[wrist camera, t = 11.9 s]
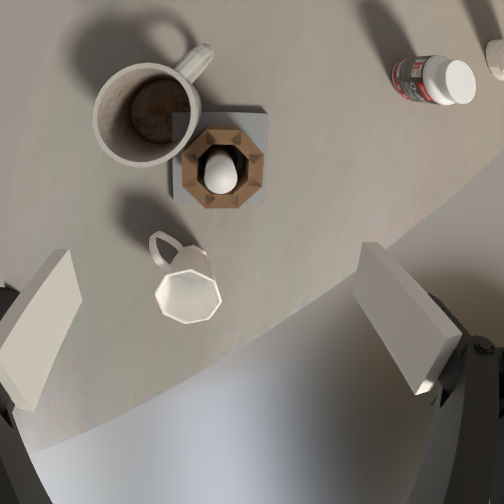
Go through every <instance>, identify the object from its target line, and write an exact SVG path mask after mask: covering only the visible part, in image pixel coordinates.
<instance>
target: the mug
mask: <svg viewBox="0 0 504 504" xmlns="http://www.w3.org/2000/svg"><path fill="white" fill-rule="evenodd" d="M213 56H214V49H213V48H212V47H211V46H210V45H208V44H206V43H204V44H200V45H197V46H196V47H194V48H193V49H192V50H190V51H189V52H188V53H187V54H186V55H185V56H184V57H183V58H182V59H181V61H180V62H179V63H178V64H177V65H176V67H175V68H174V69H171V68H169V67H167V66H164V65H161V64H157V63H140V64H135V65H132V66H128V67H126V68H124V69H122V70H120V71H119V72H117V73H116V74H115V75H113V76H112V77H111V78H110V79H109V80H108V81H107V82H106V83H105V84H104V86H103V87H102V89H101V90H100V92H99V94H98V95H97V98H96V101H95V104H94V108H93V114H92V120H93V129H94V133H95V136H96V138H97V141H98V143H99V145H100V146H101V147H102V149H103V150H104V151H105V152H106V153H107V154H108V155H109V156H110V157H111V158H112V159H114V160H116V161H117V162H119V163H121V164H124V165H127V166H131V167H151V166H155V165H159V164H161V163H163V162H165V161H167V160H169V159H170V158H172V157H173V156H175V155H176V154H177V153H178V152H179V151H180V150H181V149H182V148H183V147H184V146H185V144H186V143H187V141H188V140H189V139H190V137H191V136H192V134H193V133H194V131H195V130H196V128H197V126H198V124H199V121H200V117H201V112H202V104H201V98H200V96H199V94H198V91H197V90H196V88H195V87H194V86H193V84H192V83H193V82H194V81H195V80H196V78H197V77H198V76H199V75H200V74H201V73H202V72H203V70H204V69H205V68H206V67H207V66H208V64H209V63H210V62H211V60H212V58H213ZM174 112H191V118H190V123H189V127H188V129H187V132H186V134H185V135H184V136H183V137H182V138H180V139H179V140H177V141H175V142H173V143H172V113H174Z"/></svg>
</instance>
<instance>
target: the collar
mask: <svg viewBox="0 0 504 504" xmlns="http://www.w3.org/2000/svg"><path fill="white" fill-rule="evenodd" d="M212 144H223V145H235V146H236V147H237V148H238V149H239V150H240V151H241V152H242V153H243V167H242V168H241V169H240V170H239V171H238V172H236V173H237V183H236V185H235V187H234V188H233V189H232V190H231V191H229V192H227V193H224V194H217V193H214V192H212V191H210V190H209V189H208V188H207V186H206V184H205V180H204V176H205V172H204V171H203V170H202V169H201V168H200V156H201V155H202V154H203V153H204V152H205V151H206V150H207V149H208V148H209V147H210V146H211V145H212ZM263 166H264V154H263V153H262V152H261V150H260V149H259V148H258V147H257V146H256V145H255V144H254V143H253V142H252V141H251V140H250V139H249V138H248V137H247V135H246V134H245V133H244V132H243V131H242V130H241V129H240V128H239V127H238V126H237V125H207V126H206V127H205V128H204V129H203V130H202V131H201V132H200V133H199V134H198V135H197V136H196V137H195V138H194V139H193V140H192V141H191V142H190V143H189V144H188V145H187V146H186V148H185V149H184V151H183V152H182V187H183V188H184V189H185V190H186V191H188V192H189V193H190V194H191V195H192V196H193V197H194V198H195V199H196V200H197V201H198V202H199V203H200V204H201V205H202V206H204V207H205V208H239V207H240V206H241V205H242V204H243V203H245V202H246V201H247V200H248V199H249V198H250V197H251V196H252V195H253V194H255V193H256V192H257V191H258V190H259V189H260V188H261V187H262V182H263Z"/></svg>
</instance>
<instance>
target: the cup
mask: <svg viewBox="0 0 504 504" xmlns="http://www.w3.org/2000/svg"><path fill="white" fill-rule="evenodd" d="M156 237H158V238H160V239H162V240H164V241H166V242H168V243H170V244H171V245H172V246H174V247H175V248H176V249H177V250H178V251H179V252H178V253H177V255H176V256H175V257H174V259H173V261H172V262H171V264H170V265H169V264H168V263H167V262H166V261H165V260H164V259H163V258H162V257H161V255H160V254H159V251H158V248H157V246H156ZM149 249H150V252H151V255H152V258H153V259H154V261H155V262H156V264H157V265H158V266H159V267H160V269H161V270H162V271H163V272H165V275H164V277H163V279H162V281H161V283H160V284H159V286H158V288H157V290H156V292H155V297H156V299H157V301H158V303H159V306H160V308H161V310H162V312H163V314H164V315H167V316H169V317H171V318H173V319H175V320H178V321H180V322H182V323H184V324H188V323H193V322H198V321H203V320H208V319H210V317H211V316H212V315H213V313H214V312H215V311H216V309H217V308H218V306H219V305H220V304H221V302H222V301H221V297H220V294H219V291H218V287H217V284H216V280H215V277H214V273H213V270H212V267H211V264H210V261H209V259H208V256H207V253H206V251H205V250H203V249H201V248H199V247H197V246H195V245H190V246H186V247H183V246H182V244H181V243H180V242H178V241H177V240H176V239H174V238H173V237H171V236H169V235H168V234H166V233H164V232H161V231H157V232H155V233H154V234H153V235H152V236H150V240H149Z"/></svg>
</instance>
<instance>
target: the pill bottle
mask: <svg viewBox="0 0 504 504" xmlns="http://www.w3.org/2000/svg"><path fill="white" fill-rule="evenodd" d="M392 80H393V84H394V87H395V89H396V90H397V92H398V93H399V94H400V95H401V96H402V97H403V98H405V99H407V100H410V101H416V102H424V103H432V104H439V105H451V104H454V103H461V104H465V103H468V102H470V101H471V100H472V99H473V97H474V95H475V90H476V83H475V78H474V75H473V73H472V71H471V69H470V68H469V66H468V65H467V64H466V63H464V62H463V61H461V60H450V59H449V58H447V57H444V56H440V55H434V56H420V57H408V58H403V59H401V60H399V61H398V62H397V63H396V64H395V66H394V68H393V71H392Z"/></svg>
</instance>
